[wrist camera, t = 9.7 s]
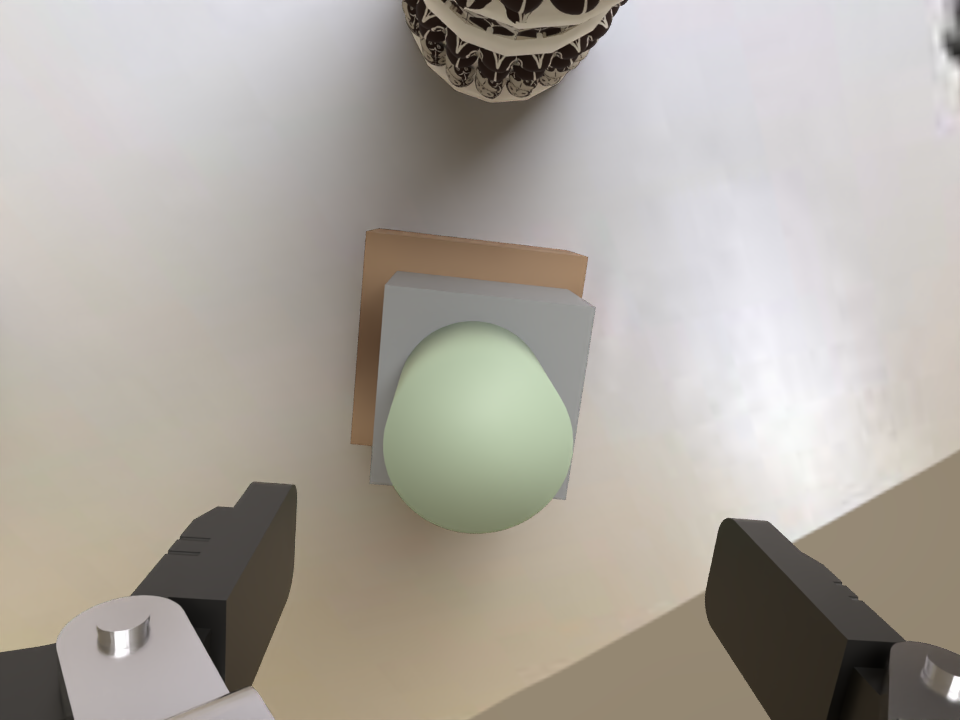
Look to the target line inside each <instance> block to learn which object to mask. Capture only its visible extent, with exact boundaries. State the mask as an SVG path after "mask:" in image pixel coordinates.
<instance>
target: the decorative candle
mask: <svg viewBox="0 0 960 720" xmlns="http://www.w3.org/2000/svg"><path fill="white" fill-rule="evenodd" d="M627 1H628V0H403V1H402V8H403V11H404V13H405V19H406V23H407V25H408V27H409V28H410V30H411V32H412V34H413V36H414V38H415V40H416V42H417V44H418V46H419V48H420V50H421V52H422V55H423V57H424V59H425V61H426V63H427V65H428V66H429V67H430V68H432V69H433V70H434V71H435V72H436V73H437V74H438V75H439V76H440V77H441V78H443V79H444V80H445V81H446V82H447V83H448V84H449V85H450V86H451V87H452V88H454V89H455V90H456V91H458V92H461V93H464V94H467V95H469V96H472V97H475V98H478V99H481V100H484V101H486V102H489V103H496V102H509V101H521V100H528V99H530V98H531V97H533V96H535V95H537V94H539V93H541V92H542V91H544V90H546V89H548V88H550V87H552V86H554V85H555V84H557V83H559V82H560V81H561V80H562V78H563V77H564V76H565V75H566V73H567V72H568V71H569V70H572V69H574V68H576V67H577V66H578V64H579V63H580V61H581V60H583V59H584V58H585V57H586V56H587V54H588V52H589V50H590V49H591V48H592V47H593V46H594V45H595V44H596V43H597V41H598V39H599V38H601V37H602V36H603V35H604V34H605V33H606V32H607V31H608V29H609V27H610V25H611V22H612V18H613V17H614V16H615V14H616V13H617V11H618V9H619V6H622V5H624V4H625V3H626V2H627Z"/></svg>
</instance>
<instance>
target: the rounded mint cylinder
mask: <svg viewBox="0 0 960 720" xmlns="http://www.w3.org/2000/svg"><path fill="white" fill-rule="evenodd" d="M383 454H384V461H385V466H386V469H387V473H388V476H389V478H390V480H391V482H392V484H393V486H394V488H395V490H396V491H397V493H398V494H399V496H400V497H401V498H402V499H403V501H404V502H405V503H406V504H407V505H408V506H409V507H410V508H411V509H412V510H413V511H414V512H415V513H417V514H418V515H420V516H421V517H422V518H424V519H425V520H427V521H429V522H431V523H433V524H435V525H437V526H440V527H442V528H445V529H448V530H452V531H456V532H462V533H470V534H483V533H491V532H497V531H501V530H505V529H508V528H511V527H514V526H516V525H518V524H520V523H522V522H524V521H526V520H528V519H529V518H531V517H532V516H534V515H535V514H537V513H538V512H539V511H540V510H542V509H543V508H544V507H545V506H546V505H547V504H548V503H549V502H550V501H551V500H552V498H553V497H554V496H555V495H556V493H557V492H558V490H559V489H560V487H561V486H562V484H563V482H564V480H565V478H566V476H567V473H568V470H569V467H570V464H571V459H572V454H573V431H572V426H571V421H570V418H569V415H568V412H567V409H566V407H565V405H564V403H563V401H562V400H561V398H560V396H559V394H558V393H557V391H556V389H555V388H554V386H553V384H552V383H551V381H550V380H549V378H548V376H547V375H546V373H545V371H544V370H543V368H542V366H541V365H540V363H539V361H538V360H537V358H536V356H535V355H534V353H533V352H532V351H531V349H530V348H529V347H528V346H527V345H526V343H525V342H524V341H523V340H521V339H520V338H519V337H518V336H517V335H515V334H514V333H512V332H510V331H509V330H507V329H505V328H502V327H500V326H498V325H494V324H491V323H486V322H480V321H466V322H458V323H454V324H450V325H447V326H445V327H442V328H440V329H438V330H436V331H434V332H432V333H431V334H430V335H428V336H427V337H425V338H424V339H423V340H422V341H421V342H420V343H419V344H418V345H417V346H416V347H415V348H414V350H413V351H412V352H411V353H410V355H409V357H408V358H407V360H406V362H405V364H404V367H403V369H402V372H401V375H400V379H399V382H398V385H397V389H396V392H395V395H394V399H393V402H392V405H391V408H390V412H389V415H388V419H387V422H386V426H385V430H384V437H383Z"/></svg>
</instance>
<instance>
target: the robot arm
mask: <svg viewBox="0 0 960 720" xmlns="http://www.w3.org/2000/svg"><path fill="white" fill-rule="evenodd" d="M296 509H297V490H296V486H295V485H291V484H277V483H264V482H252V483H251V484H250V486H249V487H248V488H247V490H246V491H245V492H244V494H243V495H242V497H241V498H240V499H239V501H238V502H237V503H236V505H235V506H234V507H233V508H232V507H216V508H214V509H212V510H211V511H209V512H207V513H205V514H203V515H202V516H200V517H198V518H196V519H194V520H193V521H192V523H191V524H190V525H189V526H188V527H187V529H186V530H185V531H184V532H183V533H182V535H181V536H180V539H179V540H177V541H176V542H175V543H174V544H173V545H172V547H171V548H170V549H169V550H168V554H165V555H164V556H163V557H162V559H161V560H160V561H159V562H158V563H157V565H156V566H155V567H154V568H153V569H152V571H151V572H150V573H149V574H148V575H147V577H146V578H145V579H144V580H143V581H142V583H141V584H140V585H139V586H138V587H137V589H136V590H135V591H134V592H133V593H132V595H131V596H129V597H122V598H118V599H114V600H110V601H107V602H104V603H101V604H99V605H96V606H94V607H91V608H90V609H88V610H86V611H84V612H82V613H81V614H79V615H78V616H76V617H74V618H73V619H72V620H71V621H70V622H69V623H67V624H66V626H65V627H64V628H63V629H62V630H61V632H60V634H59V636H58V638H57V642H56V643H54V644H50V645H45V646H40V647H34V648H27V649H20V650H13V651H7V652H0V720H275V719H274V717H273V716H272V714H271V712H270V711H269V709H268V708H267V706H266V704H265V703H264V701H263V699H262V698H261V696H260V695H259V693H258V692H257V691H256V690H255V689H254V688H253V687H251V686H252V683H253V681H254V678H255V676H256V674H257V671H258V669H259V666H260V664H261V662H262V659H263V657H264V654H265V652H266V650H267V647H268V645H269V642H270V640H271V637H272V635H273V633H274V630H275V628H276V625H277V623H278V621H279V618H280V616H281V613H282V611H283V608H284V606H285V604H286V601H287V599H288V595H289V592H290V587H291V583H292V577H293V569H294V554H295V532H296ZM705 608H706V614H707V618H708V621H709V624H710V626H711V628H712V629H713V631H714V632H715V634H716V635H717V637H718V638H719V640H720V642H721V643H722V645H723V646H724V648H725V649H726V650H727V652H728V654H729V655H730V657H731V659H732V660H733V662H734V663H735V665H736V666H737V668H738V669H739V671H740V672H741V674H742V675H743V677H744V679H745V680H746V682H747V683H748V685H749V686H750V688H751V689H752V691H753V692H754V694H755V696H756V697H757V699H758V700H759V702H760V703H761V705H762V706H763V708H764V709H765V711H766V712H767V714H768V716H769V717H770V719H771V720H960V655H958V654H956V653H953V652H951V651H949V650H947V649H944V648H941V647H938V646H934V645H931V644H927V643H921V642H912V641H905V640H904V639H903V638H902V637H901V636H900V635H899V634H898V633H897V632H896V631H895V630H894V629H892V628H891V627H890V626H889V625H888V624H887V623H886V622H885V621H884V620H883V619H882V618H880V617H879V616H878V615H877V614H876V613H875V612H874V611H873V610H872V609H871V608H870V607H869V606H867V605H866V604H865V603H864V602H863V601H859V600H858V597H857V595H855V594H854V593H853V592H852V591H851V590H850V589H849V588H848V587H847V586H843V585H842V582H841V581H840V580H839V579H838V578H837V577H836V576H835V575H834V574H833V573H832V572H830V571H829V570H828V569H827V568H826V567H825V566H824V565H823V564H821V563H819V562H818V561H816V560H814V559H813V558H811V557H809V556H807V555H806V554H804V553H802V552H801V551H799V550H798V549H797V548H796V547H795V546H794V545H793V544H792V543H791V542H790V541H789V540H788V539H787V538H786V537H785V536H784V535H783V534H782V533H780V532H779V531H778V530H777V529H776V528H775V527H774V526H773V525H772V524H771V523H769V522H768V521H761V520H748V519H735V518H726V519H725V520H723V522H722V523H721V525H720V527H719V530H718V534H717V539H716V544H715V549H714V553H713V558H712V563H711V568H710V573H709V577H708V582H707V587H706V593H705Z"/></svg>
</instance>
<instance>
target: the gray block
mask: <svg viewBox="0 0 960 720" xmlns="http://www.w3.org/2000/svg"><path fill="white" fill-rule="evenodd" d="M595 308H596V307H594V306H593V305H591V304H590V303H588V302H587V301H585V300H584V299H582V298H580V297H579V296H577V295H576V294H574V293H573V292H571V291H570V290H568V289H561V288H552V287H543V286H534V285H524V284H515V283H506V282H496V281H487V280H478V279H469V278H459V277H450V276H441V275H431V274H422V273H413V272H404V271H397V272H396V273H395V274H394V275H393V276H392V277H391V278H390V280H389V281H388V282H387V283H386V284H385V290H384V303H383V316H382V329H381V342H380V354H379V367H378V380H377V393H376V406H375V419H374V432H373V445H372V458H371V471H370V484H379V485H391V486H393V484H392V482H391V480H390V478H389V476H388V473H387V469H386V466H385V461H384V454H383V437H384V430H385V426H386V422H387V419H388V415H389V412H390V408H391V405H392V402H393V399H394V395H395V392H396V389H397V385H398V382H399V379H400V375H401V372H402V369H403V367H404V364H405V362H406V360H407V358H408V357H409V355H410V353H411V352H412V351H413V350H414V348H415V347H416V346H417V345H418V344H419V343H420V342H421V341H422V340H423V339H424V338H425V337H427V336H428V335H430V334H431V333H432V332H434V331H436V330H438V329H440V328H442V327H445V326H447V325H450V324H454V323H458V322H466V321H480V322H486V323H491V324H494V325H498V326H500V327H502V328H505V329H507V330H509V331H510V332H512V333H514V334H515V335H517V336H518V337H519V338H520V339H521V340H523V341H524V342H525V343H526V345H527V346H528V347H529V348H530V349H531V351H532V352H533V353H534V355H535V356H536V358H537V360H538V361H539V363H540V365H541V366H542V368H543V370H544V371H545V373H546V375H547V376H548V378H549V380H550V381H551V383H552V384H553V386H554V388H555V389H556V391H557V393H558V394H559V396H560V398H561V400H562V401H563V403H564V405H565V407H566V409H567V412H568V415H569V418H570V421H571V426H572V431H573V449H574V443H575V436H576V430H577V424H578V417H579V411H580V404H581V398H582V392H583V385H584V379H585V372H586V366H587V359H588V353H589V347H590V340H591V334H592V327H593V321H594V315H595ZM572 456H573V454H572ZM571 462H572V459H571ZM570 468H571V464H570V467H569V470H568V473H567V476H566V478H565V480H564V482H563V484H562V486H561V487H560V489H559V490H558V492H557V493H556V495H555V496H554V497H553V498H552V499H562V500H566V494H567V488H568V481H569V475H570Z"/></svg>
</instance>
